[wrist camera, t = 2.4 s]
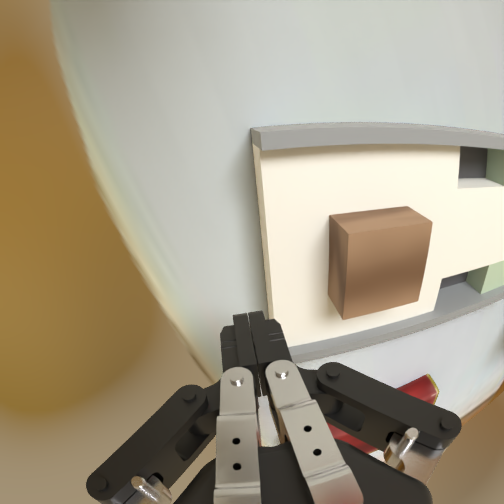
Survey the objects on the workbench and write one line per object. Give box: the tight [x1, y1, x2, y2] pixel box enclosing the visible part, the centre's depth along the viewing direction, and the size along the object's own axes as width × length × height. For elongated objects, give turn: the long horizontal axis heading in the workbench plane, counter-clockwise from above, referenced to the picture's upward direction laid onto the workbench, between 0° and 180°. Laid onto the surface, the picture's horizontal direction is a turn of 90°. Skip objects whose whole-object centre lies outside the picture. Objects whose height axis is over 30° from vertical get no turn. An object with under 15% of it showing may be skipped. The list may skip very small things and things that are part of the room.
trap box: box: [251, 122, 504, 364], centre depth 21 cm, size 17×30×6 cm, turn 96°
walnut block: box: [328, 206, 433, 320], centre depth 19 cm, size 6×6×3 cm
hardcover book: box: [326, 374, 439, 454], centre depth 35 cm, size 12×21×4 cm, turn 104°
